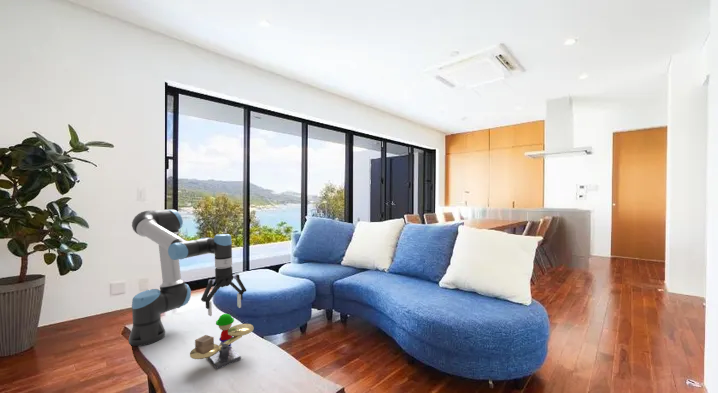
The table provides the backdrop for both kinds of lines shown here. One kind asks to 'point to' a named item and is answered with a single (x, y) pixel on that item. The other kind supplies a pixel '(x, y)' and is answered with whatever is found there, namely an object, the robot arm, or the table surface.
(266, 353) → the table surface
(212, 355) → the balance
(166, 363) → the table surface
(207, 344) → the walnut block
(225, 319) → the toy
